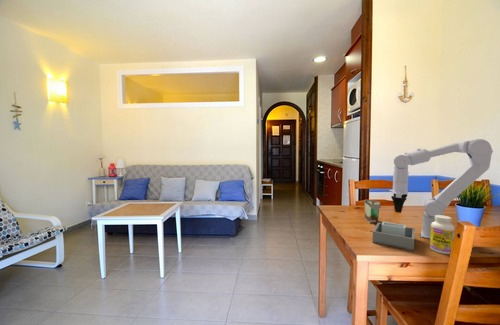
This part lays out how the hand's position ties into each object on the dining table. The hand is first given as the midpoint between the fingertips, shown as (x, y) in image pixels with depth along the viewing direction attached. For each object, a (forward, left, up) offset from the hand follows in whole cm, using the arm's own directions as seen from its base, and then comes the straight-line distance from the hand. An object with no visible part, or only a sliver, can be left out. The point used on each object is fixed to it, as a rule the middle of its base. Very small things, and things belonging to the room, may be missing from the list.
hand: (398, 210), depth 106 cm
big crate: (+1, +15, -9) cm, 18 cm away
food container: (+12, -10, -10) cm, 18 cm away
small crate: (+1, +15, -9) cm, 17 cm away
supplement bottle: (-14, +16, -10) cm, 24 cm away
